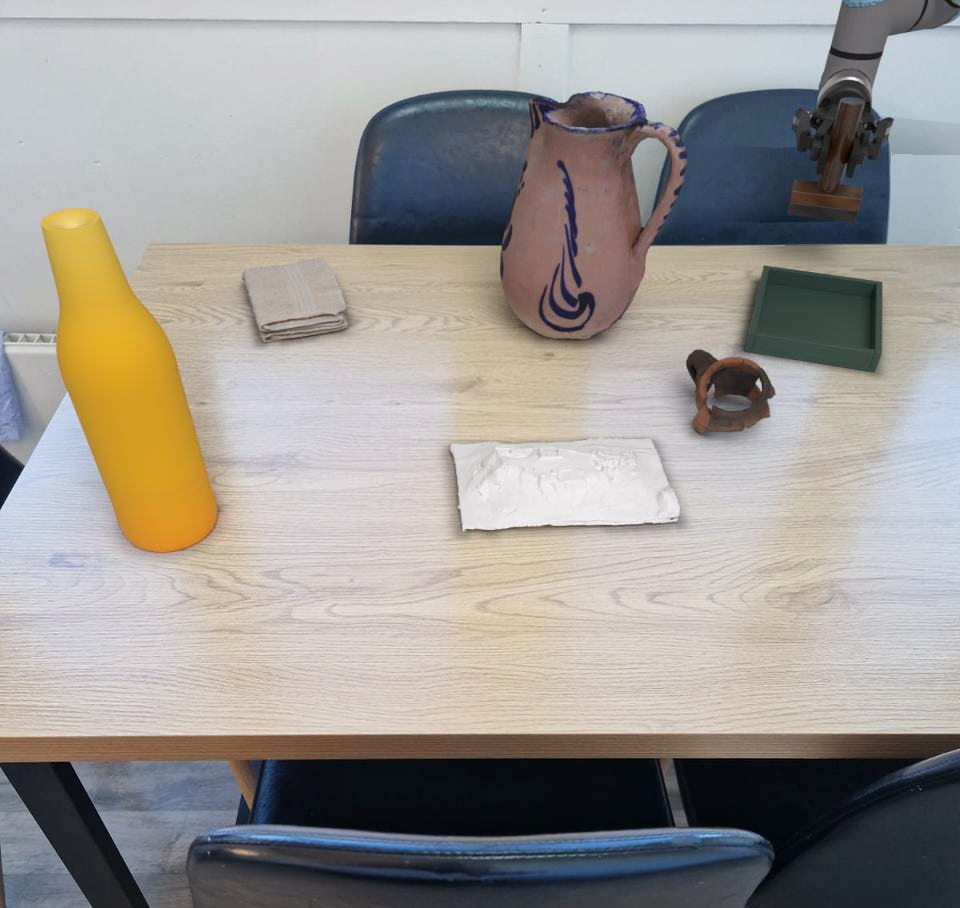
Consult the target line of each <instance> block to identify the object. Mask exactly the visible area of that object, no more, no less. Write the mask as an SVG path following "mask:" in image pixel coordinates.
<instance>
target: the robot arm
mask: <svg viewBox="0 0 960 908" xmlns="http://www.w3.org/2000/svg"><path fill="white" fill-rule="evenodd" d="M838 11H839V12H838V15H837V19H836V23H835V27H834V32H833V36H832V39H831V43H830V48H829V50H828V53H827V58H826V61H825V64H824V65H825V66H824V69H823V72H822V74H821V76H820V82H819V84H818V90H817V91H818V96H817V102H816V107H815V109H814V110H813V111H812V112H811V111H808V110H806V109H804V108H802V107H798V108H796V109H795V111H794V116H793V120H792V123H791V127H790V129H791V130H792V131H793V132H794V133H795V139H796V151H797V152H799V153H805V152H807V150H810V153H809V157H808V160H809V161H811V162H817V167H816V171H815V174H816V175H819V176H820V175H822V173H823V170H824V166H825V162H826V159H827V155H828V151H829V143H830V136H831V133H832V129H833V125H834V122H835V118H836V114H837V111H838V107H839V103H840V100H841V99H842V98H846V97H854V98H859V99H862V100H864V101H865V104H864V108H863V111H862V115H861V118H860V121H859V125H858V128H857V132H856V135H855V139H854V142H853V145H852V149H851V152H850V156H849V159H848V162H847V166H846V171H845V172H846V174H845V178H848V179H853V176H854V173H855V170H856V166H857V165H864V164H865V160H866V157H867V159H868V160H870V161H875V160H878V157H879V155H880V151H881V148H882V144H883V142H885V141H887V140H888V139H889V137H890V133H891V130H892V127H893V124H894V121H895V118H893V117H891V116H887V117H884V118H883V119H882V118H878V119H877V120H876V117H875V115H874V114H872V111H873V110H872V109H873V108H872V106H873V87H874V85H875V84H874V83H875V80H876V77H877V73H878V70H879V67H880V64H881V60H882V57H883V54H884V50H885V46H886V43H887V40H888V37H891V36H895V35H902V34H907V33H912V32H913V33H914V32H918V31H923V30H935V29H937V28H940V27H942V26H944V25H945V26H946V25H948V24H950V23H952V22H954V21H955V20H957V19H958V18H959V17H960V0H841V3H840V8H839V10H838ZM812 129H814V130H815V134H811V133H812ZM871 134H873V135H872V140H870V137H871Z"/></svg>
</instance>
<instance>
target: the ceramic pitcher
mask: <svg viewBox="0 0 960 908" xmlns="http://www.w3.org/2000/svg"><path fill="white" fill-rule="evenodd" d="M528 109H529V116H530V117H529V118H530V135H529V141H528V147H527V150H526V151H527V152H526V155H525V160H524V163H523V167H522V169H521V173H520V176H519V181H518V183H517V187H516V191H515V193H514V197H513V200H512V203H511V206H510V210H509V213H508V216H507V221H506V225H505V227H504V231H503V232H504V233H503V237H502V241H501V248H500V256H499V275H500V281H501V286H502V287H501V288H502V290H503V292H504V295H505V298H506V300H507V302H508V304H509V306H510V308H511V310H512V312H513V313H514V314H515V315H516V317H517V318H518V319H519V320H520V321H521V322H522V323H524V325H526V326H527V327H528V328H529V329H531V330H533V331H534V332H536V333H537V334H539V335H541V336H543V337H545V338H549V339H553V340H554V339H555V340H556V339H571V340H575V339H578V340H588V339H590V338H591V337H592V336H597V335H599V334H600V333H601V332H604V331H606V330H608V328H610V327H611V326H613V325H614V324H616V322H618V321H619V320H621V319H622V317H623V315H624V314H625V313H626V312H627V310H629V308H630V306H631V305H632V303H633V301H634V299H635V296H636V294H637V292H638V289H639V288H640V284H641V282H642V280H643V278H644V277H645V273H646V262H647V261H646V260H647V254H648V251H649V249H650V247H651V246H652V244H653V241H654V239H655V238H656V236H657V235H658V234H659V232H660V230H661V229H662V228H663V225H664V223H665V222H666V221H667V219H668V217H669V215H670V212H671V211H672V210H673V207H674V205H675V203H676V202H677V199H678V197H679V195H680V193H681V190H682V188H683V184H684V182H685V176H686V175H685V174H686V169H687V165H688V154H687V148H686V146H685V143H684V142H683V139H682V138H681V136H680V135H679V133H678V132H677V130H676V129H675V128H673V127H672V126H671V125H668V124H664V123H663V122H659V121H651V120H648V119H647V112H646V109H645V106H644V105H643V103H640V102H638V101H637V100H635V99H631V98H628V97H625V96H621V95H617V94H615V93H610V92H603V91H600V90H598V91H585V92H582V93H581V92H577V93H573V94H572V95H570V96H569V98H568V100H566V101H564V102H561V101H560V102H558V101H556V100H554V99H552V98H550V97H544V96H537V97H531V99H530V100H529V101H528ZM647 139H655V140H658V141H659V142H660V143H662V145H663V146H664V147H665V148H666V149H667V153H668V155H669V160H670V172H669V175H668V179H667V183H666V187H665V189H664V192H663V194H662V196H661V198H660V200H659V203H658V205H657V206H656V208H655V209H654V211H653V212H652V214H651V216H650V217H649V218H648V220H647V222H646V223H645V225H644V226H643V225H642V215H641V208H640V203H639V196H638V191H637V185H636V184H637V183H636V178H635V173H634V167H633V166H634V165H633V160H632V156H634V153H635V151H636V149H637V147H638V145H639V144H640V143H641V142H643V141H645V140H647Z"/></svg>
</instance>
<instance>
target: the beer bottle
mask: <svg viewBox="0 0 960 908" xmlns="http://www.w3.org/2000/svg"><path fill="white" fill-rule="evenodd" d="M40 227H41V230H42V235H43V239H44V245H45V248H46V252H47V256H48V260H49V263H50V264H49V265H50V268H51V271H52V272H51V273H52V275H53V281H54V284H55V289H56V292H57V297H58V303H59V316H58V322H57V331H56V343H55V346H56V347H55V351H56V359H57V364H58V368H59V372H60V376H61V379H62V381H63V384H64V387H65V389H66V391H67V394H68V396H69V398H70V401H71V403H72V406H73V409H74V411H75V414H76V416H77V419H78V421H79V423H80V426H81V429H82V431H83V434H84V436H85V439H86V442H87V445H88V446H89V450H90V452H91V455H92V457H93V460H94V462H95V465H96V467H97V469H98V472H99V474H100V477H101V480H102V482H103V485H104V487H105V490H106V493H107V495H108V498H109V500H110V502H111V505H112V508H113V511H114V515H115V517H116V520H117V523H118V525H119V528H120V530H121V531H122V533H123V534H124V536H125V538H126V539H127V540H128V541H129V542H130V543H132V544H133V546H135V547H137V548H139V549H142V550H145V551H147V552H154V553H171V552H176V551H181V550H184V549H187V548H190V547H191V546H194V545H196V544H198V543H200V542H201V541H202V540H204V539H205V538H206V537H207V536H208V535H209V534H210V533H211V532H212V530H213V529H214V527H215V526H216V523H217V518H218V505H217V499H216V496H215V492H214V490H213V486H212V483H211V480H210V477H209V474H208V470H207V467H206V463H205V460H204V455H203V452H202V449H201V445H200V441H199V438H198V435H197V430H196V427H195V424H194V420H193V416H192V413H191V409H190V406H189V402H188V398H187V395H186V391H185V388H184V384H183V380H182V376H181V373H180V369H179V365H178V362H177V361H178V360H177V358H176V355H175V352H174V349H173V346H172V345H171V342H170V340H169V337H168V335H167V334H166V332H165V331H164V328H163V327H162V325H161V324H160V323H159V322H158V320H157V319H156V318H155V316H154V315H153V314H152V313H151V312H150V310H149V309H148V308H147V307H146V306H145V304H143V302H142V301H141V300H140V299H139V298H138V296H137V295H136V294H135V292H134V291H133V289H132V287H131V285H130V283H129V280H128V279H127V276H126V274H125V272H124V269H123V267H122V265H121V262H120V260H119V257H118V255H117V252H116V250H115V247H114V245H113V242H112V240H111V238H110V236H109V233H108V232H107V229H106V227H105V224H104V222H103V220H102V217H101V215H100V213H99V212H98V211H96V210H94V209H91V208H85V207H71V208H65V209H61V210H56V211H53V212H51V213H49V214H46V215H45V216H44V217H43V218H42V219H41V221H40Z"/></svg>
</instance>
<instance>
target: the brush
mask: <svg viewBox="0 0 960 908" xmlns="http://www.w3.org/2000/svg"><path fill="white" fill-rule="evenodd" d="M864 104H865V101H864V100H862V99H859V98H854V97H846V98H842V99H841V100H840V103H839V107H838V111H837V114H836V118H835V122H834V125H833V129H832V133H831V136H830V143H829V151H828V155H827V159H826V162H825V166H824V170H823V173H822V175H820V174H819V176H818V181H814V180H813V181H811V180H803V179H794V182H793V185H792V189H791V192H790V197H789V200H788V205H787V209H786V210H787V211H786V215H791V216H798V217H799V216H800V217H808V218H813V219H814V218H816V219H822V220H831V221H839V222H847V223H856V221H857V217H858V215H859V211H860V207H861V204H862V201H863V190H864V189H863V186H855V185H847V184H842V183H843V180H844V176H845V172H846V170H847V162H848V159H849V156H850V152H851V149H852V145H853V142H854V139H855V135H856V132H857V128H858V125H859V121H860V118H861V115H862V111H863V108H864Z"/></svg>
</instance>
